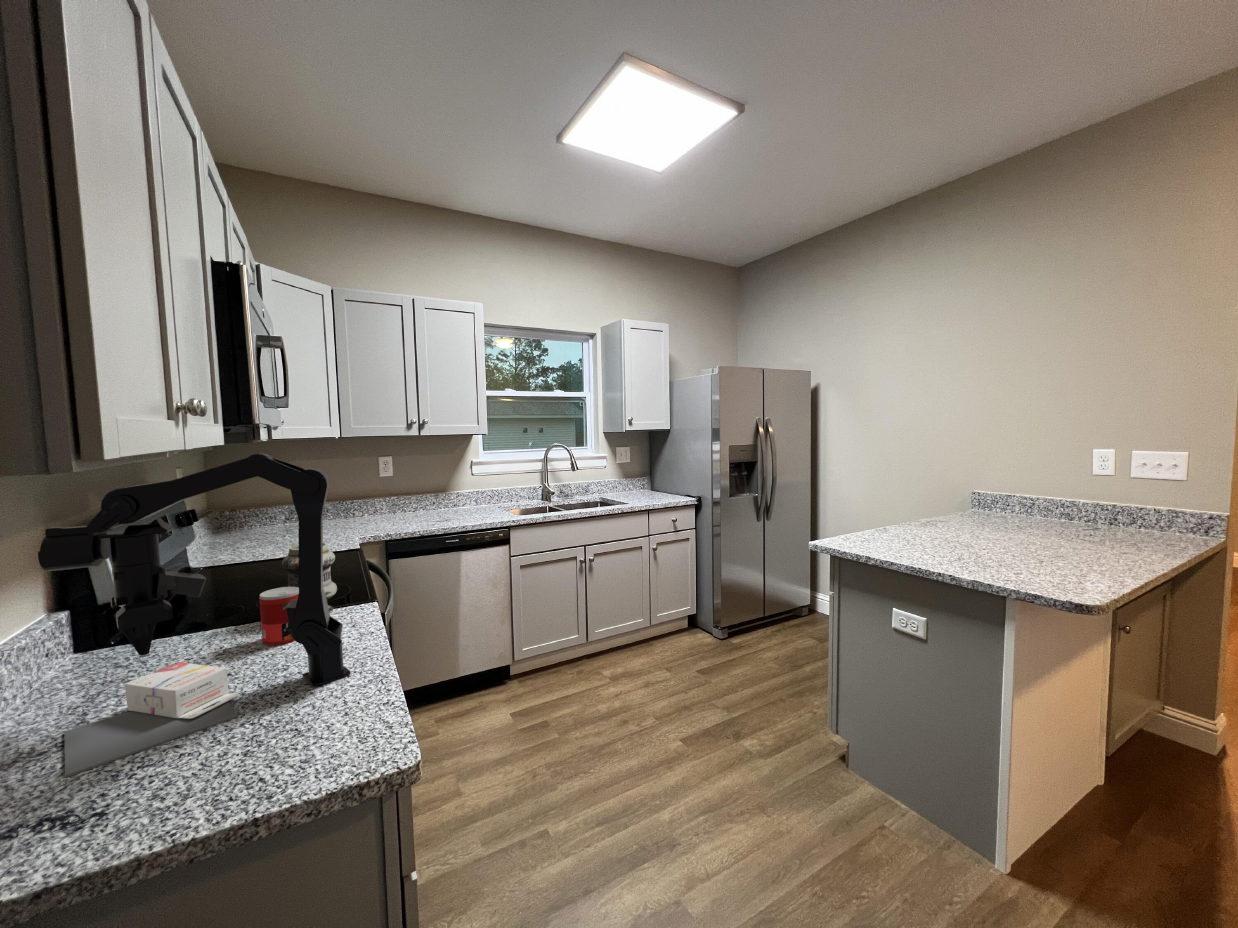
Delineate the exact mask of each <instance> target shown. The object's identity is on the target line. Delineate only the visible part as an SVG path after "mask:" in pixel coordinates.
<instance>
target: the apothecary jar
mask: <svg viewBox="0 0 1238 928" xmlns="http://www.w3.org/2000/svg"><path fill="white" fill-rule="evenodd" d="M335 560H336V555H335V554H334V552H333V551H331V549H329V546H328V544H327V542H324V541H323V590H324V593H325V596H326V600H327V601H328V600H330V599H331V598H332V597H334V596H335V594H336V593H337V591H338V587H337V584H336V583H335V582H333V580H332V576H331V575H332V573H331V572H332V571H331V566H332V564H334V562H335ZM281 566H282V568H283V569H284V570H286V571H287V577H288V582H287V583H288V584H287V587H298V588H299V543H297V544H293V545H291V546H289V548H288V553H287V555H286V556H284V558H283V559H282V562H281ZM328 609H329V613H331V612H332V611H333V610H334V607H333V606H332V605H329V604H328ZM331 610H332V611H331Z"/></svg>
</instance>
